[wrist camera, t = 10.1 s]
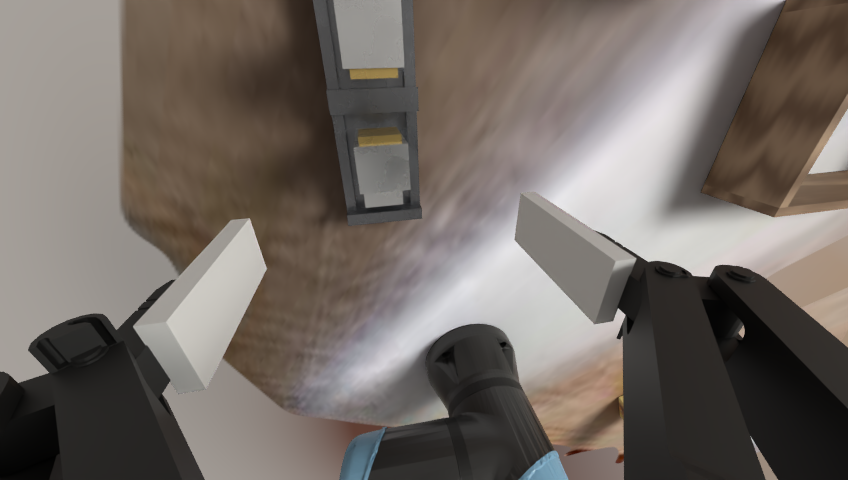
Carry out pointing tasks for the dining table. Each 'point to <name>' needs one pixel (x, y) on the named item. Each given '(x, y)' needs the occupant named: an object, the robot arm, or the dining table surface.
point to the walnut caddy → (789, 117)
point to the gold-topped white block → (382, 165)
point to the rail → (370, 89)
